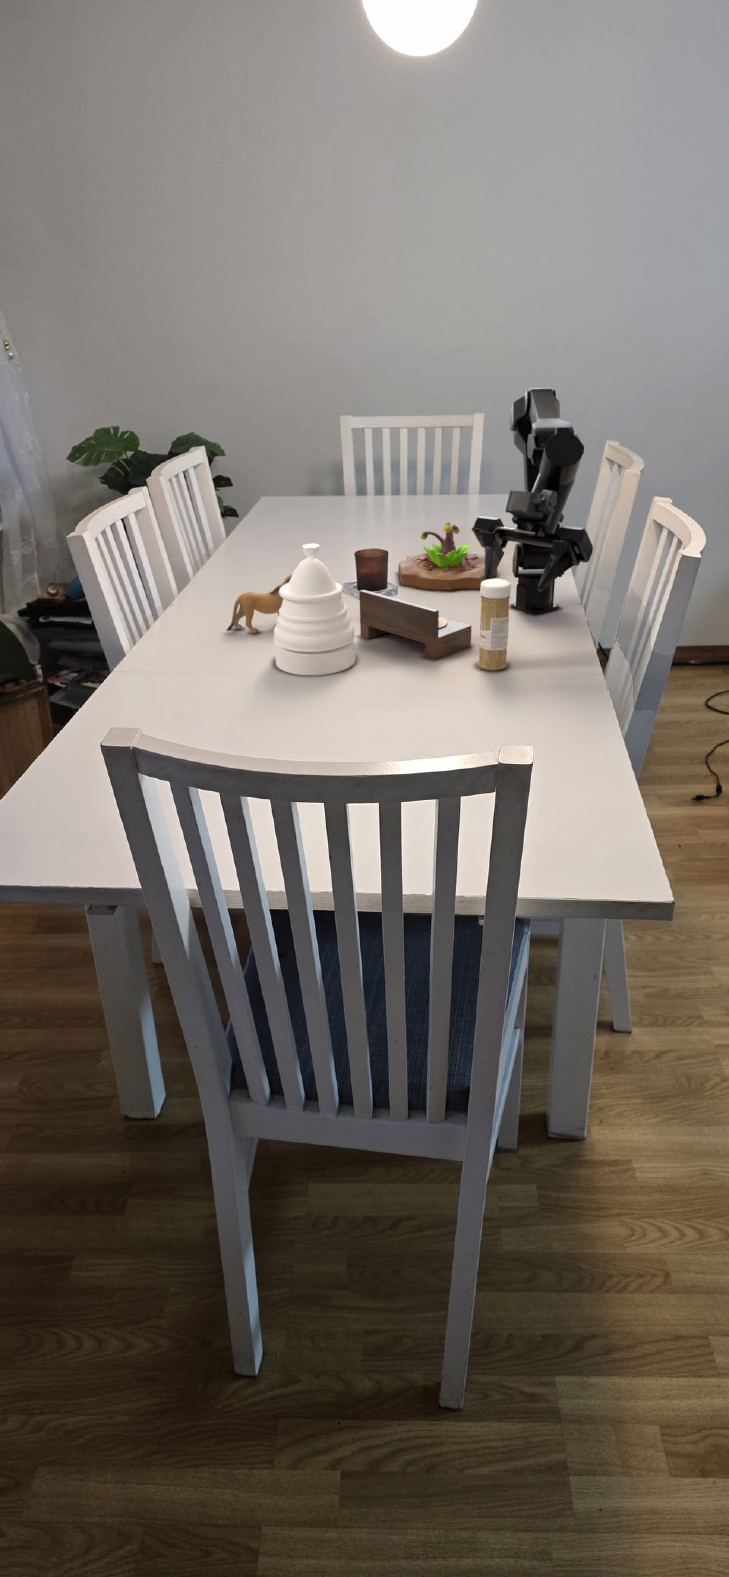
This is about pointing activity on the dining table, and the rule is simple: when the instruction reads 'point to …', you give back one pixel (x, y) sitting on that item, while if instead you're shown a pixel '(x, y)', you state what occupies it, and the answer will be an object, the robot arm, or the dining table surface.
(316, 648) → the honey pot
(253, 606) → the lion figurine
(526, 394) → the robot arm
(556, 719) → the dining table surface
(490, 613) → the sprinkles bottle
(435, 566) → the plant
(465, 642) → the miniature wooden bench
